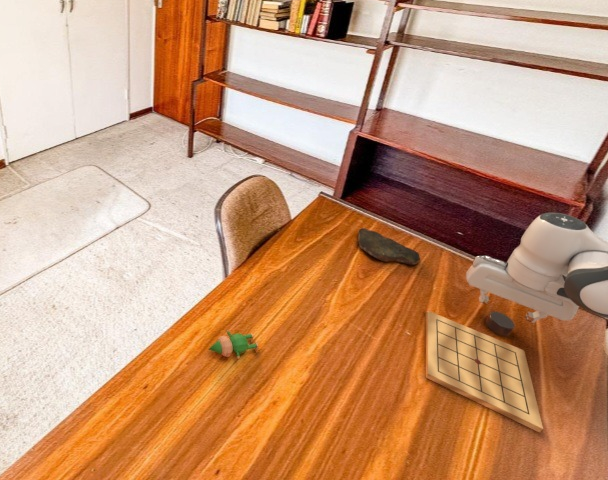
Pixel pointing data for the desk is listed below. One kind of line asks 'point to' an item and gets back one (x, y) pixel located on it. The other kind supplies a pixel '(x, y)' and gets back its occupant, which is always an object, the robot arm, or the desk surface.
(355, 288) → the desk surface
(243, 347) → the figurine
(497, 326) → the game stone
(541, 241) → the robot arm
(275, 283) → the desk surface
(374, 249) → the stone
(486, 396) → the go board
